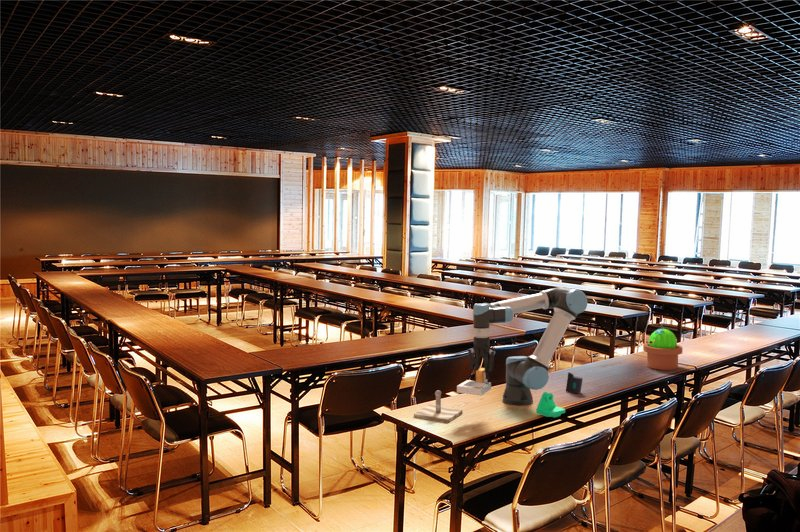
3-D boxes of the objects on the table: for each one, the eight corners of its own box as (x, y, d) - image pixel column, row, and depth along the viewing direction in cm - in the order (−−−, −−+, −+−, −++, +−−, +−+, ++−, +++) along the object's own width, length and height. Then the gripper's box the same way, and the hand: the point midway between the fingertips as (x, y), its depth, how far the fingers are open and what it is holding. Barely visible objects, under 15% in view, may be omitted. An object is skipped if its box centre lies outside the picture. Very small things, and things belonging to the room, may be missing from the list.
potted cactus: (669, 362, 380) (670, 324, 378) (688, 370, 358) (689, 330, 357) (637, 363, 378) (637, 325, 377) (654, 371, 357) (654, 331, 355)
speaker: (566, 393, 312) (568, 374, 312) (565, 391, 318) (567, 372, 318) (581, 395, 311) (583, 376, 311) (580, 392, 317) (582, 373, 316)
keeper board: (429, 407, 291) (429, 384, 290) (462, 413, 282) (462, 388, 281) (413, 416, 277) (413, 392, 277) (448, 422, 268) (448, 397, 268)
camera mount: (548, 419, 272) (548, 397, 271) (536, 415, 278) (536, 393, 278) (565, 414, 278) (566, 393, 278) (553, 410, 285) (553, 389, 284)
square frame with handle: (481, 395, 263) (481, 378, 262) (456, 392, 269) (456, 375, 268) (495, 386, 278) (495, 369, 278) (472, 383, 284) (472, 366, 284)
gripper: (462, 336, 278) (463, 385, 280) (494, 339, 270) (495, 389, 272) (469, 333, 285) (469, 381, 286) (500, 336, 277) (500, 385, 278)
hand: (482, 385), depth 279 cm, fingers closed on square frame with handle, 3 cm apart
